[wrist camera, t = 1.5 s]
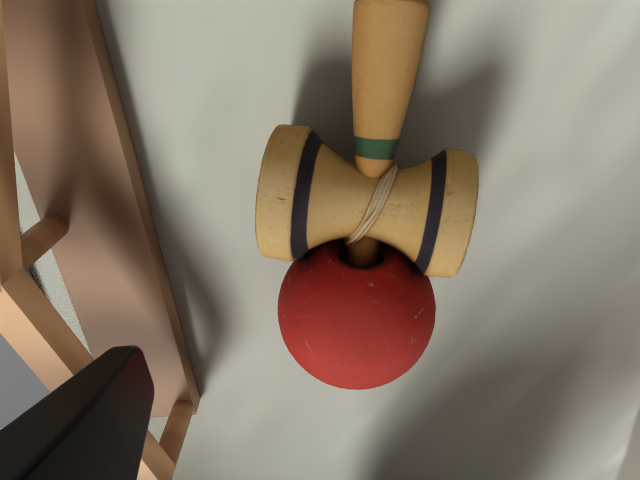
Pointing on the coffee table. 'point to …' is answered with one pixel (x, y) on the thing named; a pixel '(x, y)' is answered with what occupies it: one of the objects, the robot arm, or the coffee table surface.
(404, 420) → the coffee table surface
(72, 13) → the tan wooden frame
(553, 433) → the coffee table surface
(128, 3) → the coffee table surface
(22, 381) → the mat
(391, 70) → the kendama
